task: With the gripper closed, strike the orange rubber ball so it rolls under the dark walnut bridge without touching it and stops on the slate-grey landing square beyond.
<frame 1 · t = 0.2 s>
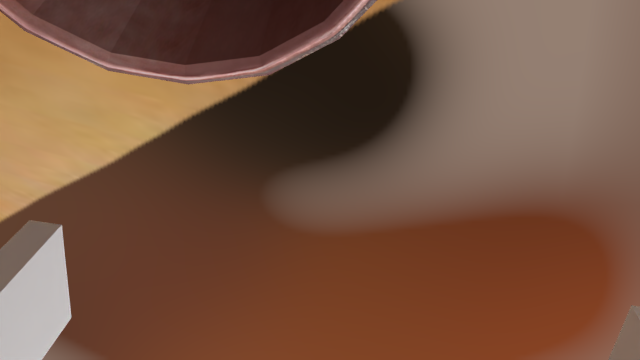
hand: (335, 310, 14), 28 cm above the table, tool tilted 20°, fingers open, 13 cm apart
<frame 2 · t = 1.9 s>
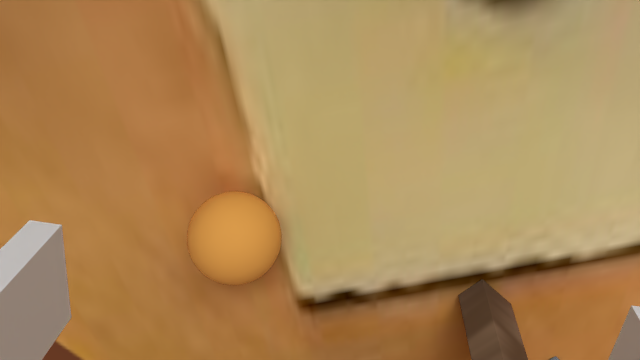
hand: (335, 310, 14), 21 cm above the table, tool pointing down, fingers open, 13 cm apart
bridge: (414, 345, 44), on the table
ball: (234, 237, 36), on the table
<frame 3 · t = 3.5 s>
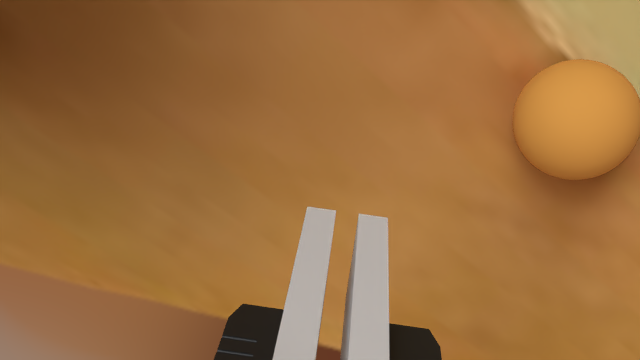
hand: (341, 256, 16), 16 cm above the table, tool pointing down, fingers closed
ball: (575, 120, 28), on the table
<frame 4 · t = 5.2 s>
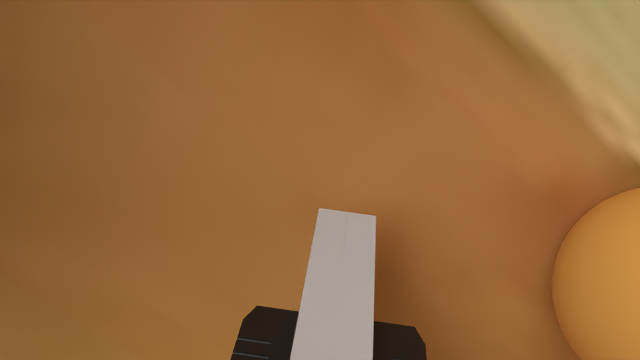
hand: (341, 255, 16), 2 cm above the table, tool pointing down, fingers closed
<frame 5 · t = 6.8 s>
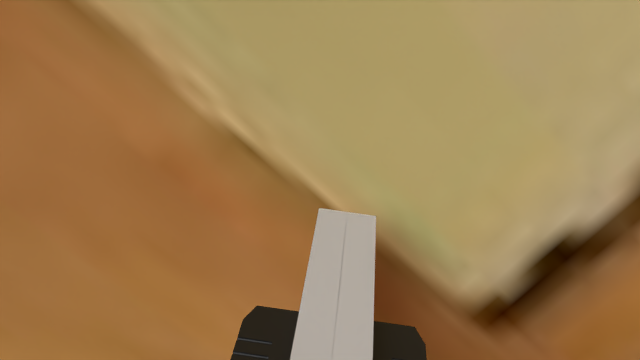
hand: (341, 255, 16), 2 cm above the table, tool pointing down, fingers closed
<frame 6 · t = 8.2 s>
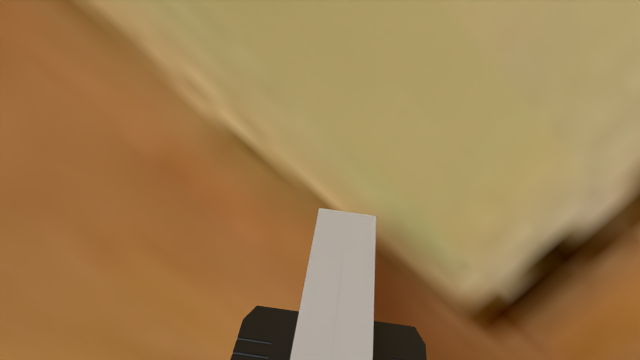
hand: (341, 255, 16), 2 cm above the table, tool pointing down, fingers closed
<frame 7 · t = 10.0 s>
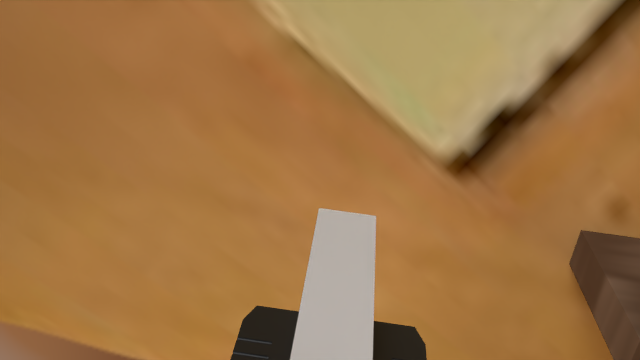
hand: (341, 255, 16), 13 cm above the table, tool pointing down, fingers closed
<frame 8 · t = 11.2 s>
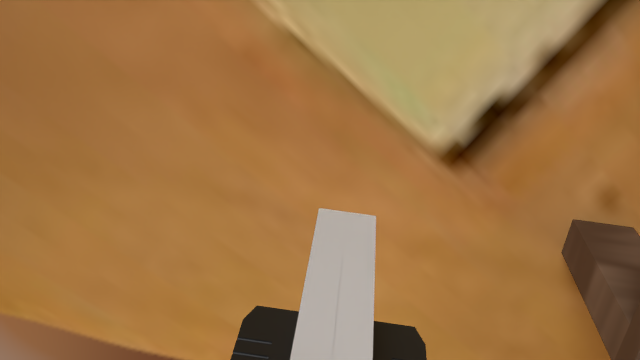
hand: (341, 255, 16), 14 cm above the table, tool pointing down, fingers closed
bridge: (638, 126, 28), on the table
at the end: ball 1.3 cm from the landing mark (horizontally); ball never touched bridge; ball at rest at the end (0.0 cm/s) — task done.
